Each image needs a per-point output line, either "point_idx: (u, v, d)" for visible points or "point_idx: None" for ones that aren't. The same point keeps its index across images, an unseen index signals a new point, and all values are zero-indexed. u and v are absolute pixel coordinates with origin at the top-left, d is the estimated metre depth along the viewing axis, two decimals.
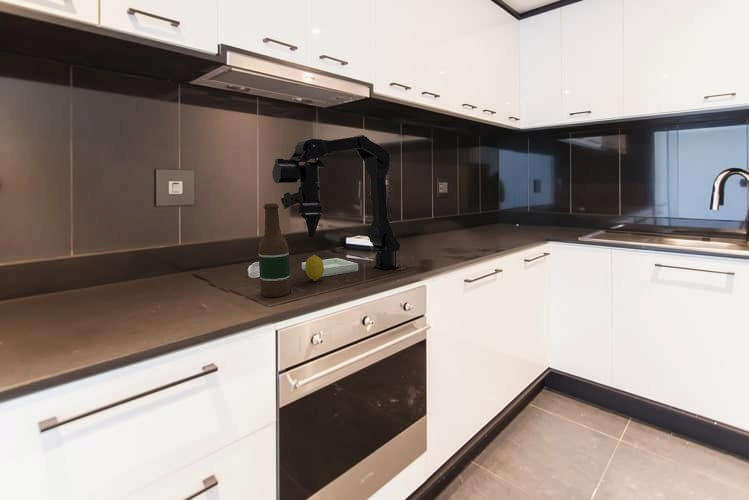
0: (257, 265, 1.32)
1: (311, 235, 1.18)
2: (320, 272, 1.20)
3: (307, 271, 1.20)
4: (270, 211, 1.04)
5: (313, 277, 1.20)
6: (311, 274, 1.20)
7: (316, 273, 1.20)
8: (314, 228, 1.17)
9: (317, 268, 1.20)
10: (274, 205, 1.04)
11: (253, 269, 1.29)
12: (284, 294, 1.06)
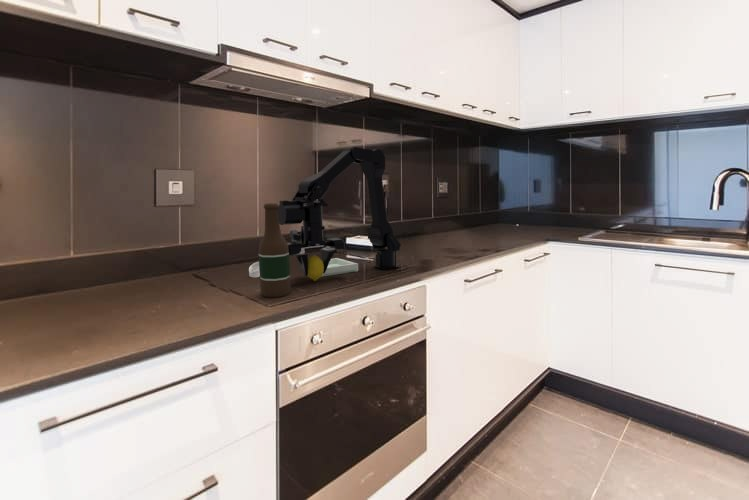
0: (258, 265, 1.33)
1: (304, 273, 1.20)
2: (320, 272, 1.20)
3: None
4: (270, 211, 1.04)
5: (313, 277, 1.20)
6: (311, 274, 1.20)
7: (316, 273, 1.20)
8: (303, 267, 1.19)
9: (317, 268, 1.20)
10: (274, 205, 1.04)
11: (254, 269, 1.29)
12: (284, 294, 1.06)
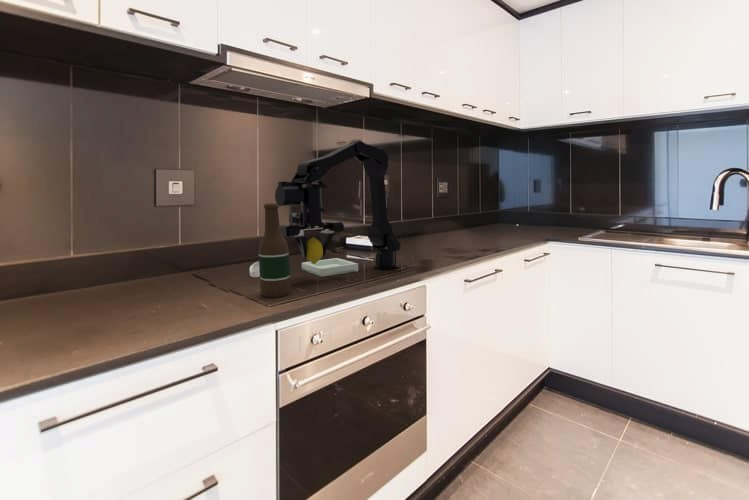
0: (258, 264, 1.33)
1: (303, 256, 1.19)
2: (319, 255, 1.20)
3: None
4: (270, 211, 1.04)
5: (312, 260, 1.20)
6: (310, 257, 1.19)
7: (315, 256, 1.19)
8: (302, 250, 1.18)
9: (316, 251, 1.19)
10: (274, 205, 1.04)
11: (255, 268, 1.29)
12: (284, 294, 1.06)
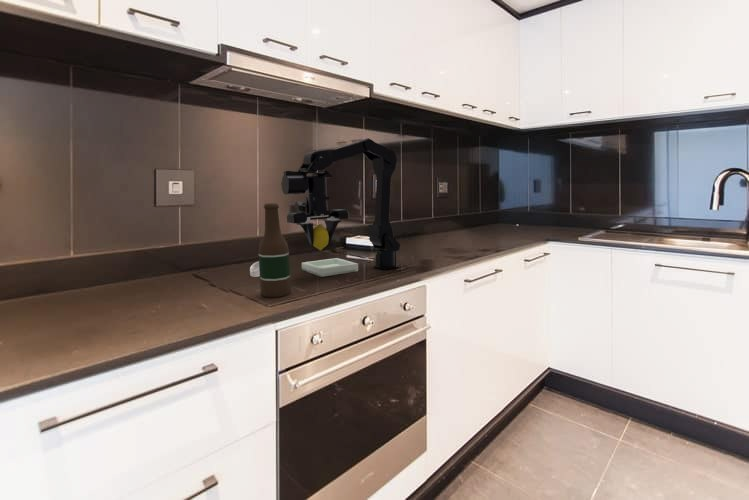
0: None
1: (310, 243, 1.24)
2: (325, 241, 1.24)
3: (313, 240, 1.24)
4: (270, 211, 1.04)
5: (319, 246, 1.24)
6: (317, 243, 1.24)
7: (321, 242, 1.24)
8: (309, 237, 1.23)
9: (322, 237, 1.23)
10: (274, 205, 1.04)
11: (255, 268, 1.30)
12: (284, 294, 1.06)
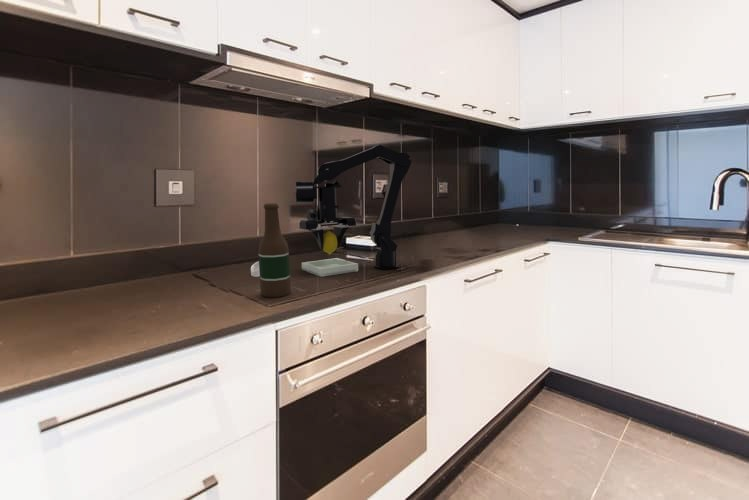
0: None
1: (320, 247, 1.35)
2: (334, 246, 1.35)
3: (323, 245, 1.34)
4: (270, 211, 1.04)
5: (328, 251, 1.35)
6: (326, 248, 1.34)
7: (330, 247, 1.34)
8: (319, 242, 1.33)
9: (332, 242, 1.34)
10: (274, 205, 1.04)
11: (256, 268, 1.30)
12: (284, 294, 1.06)
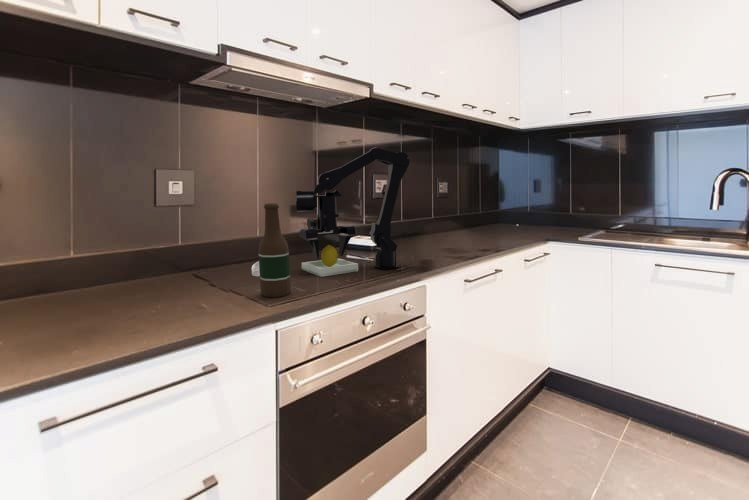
0: None
1: (316, 257, 1.34)
2: (334, 260, 1.35)
3: (323, 259, 1.35)
4: (270, 211, 1.04)
5: (328, 264, 1.35)
6: (327, 261, 1.35)
7: (331, 261, 1.35)
8: (315, 251, 1.33)
9: (332, 256, 1.35)
10: (274, 205, 1.04)
11: (257, 268, 1.31)
12: (284, 294, 1.06)
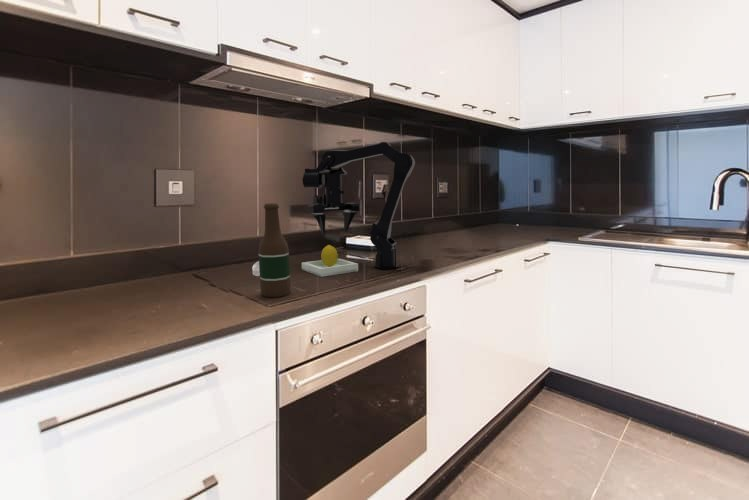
0: None
1: (322, 232, 1.41)
2: (334, 260, 1.35)
3: (323, 259, 1.35)
4: (270, 211, 1.04)
5: (328, 264, 1.35)
6: (327, 262, 1.35)
7: (331, 261, 1.35)
8: (321, 226, 1.39)
9: (332, 256, 1.34)
10: (274, 205, 1.04)
11: (257, 267, 1.31)
12: (284, 294, 1.06)
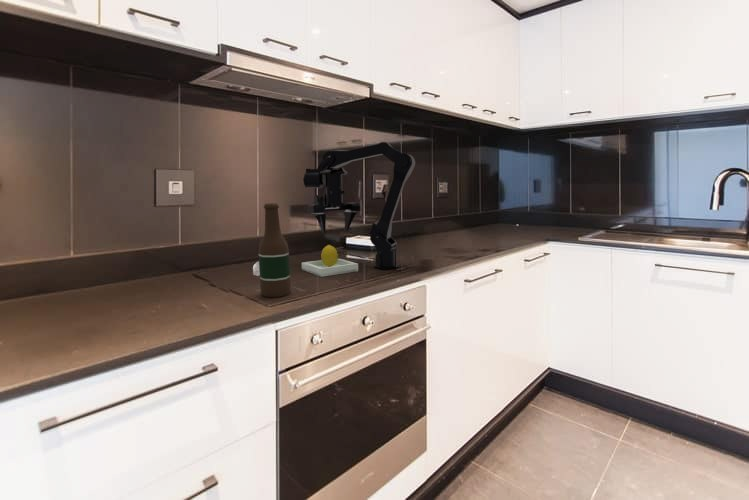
0: None
1: (322, 231, 1.41)
2: (334, 260, 1.35)
3: (323, 259, 1.35)
4: (270, 211, 1.04)
5: (328, 264, 1.35)
6: (327, 261, 1.35)
7: (331, 261, 1.35)
8: (322, 226, 1.40)
9: (332, 256, 1.35)
10: (274, 205, 1.04)
11: (258, 267, 1.31)
12: (284, 294, 1.06)
